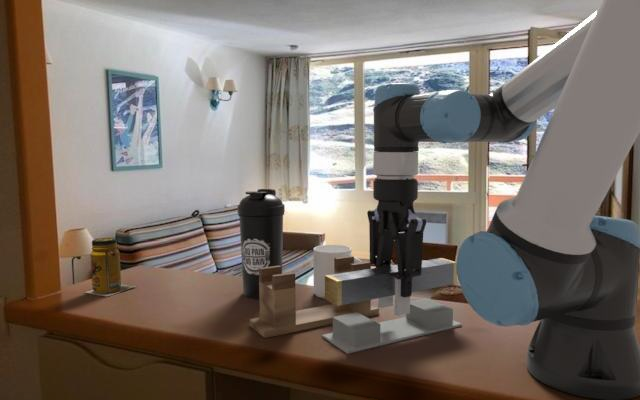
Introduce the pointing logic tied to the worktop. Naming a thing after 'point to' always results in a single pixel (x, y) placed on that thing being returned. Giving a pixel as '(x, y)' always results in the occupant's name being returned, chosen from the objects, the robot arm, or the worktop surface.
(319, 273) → the mug
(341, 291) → the rail
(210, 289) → the worktop surface
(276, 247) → the water bottle
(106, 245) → the condiment
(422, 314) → the rest
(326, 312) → the rack
